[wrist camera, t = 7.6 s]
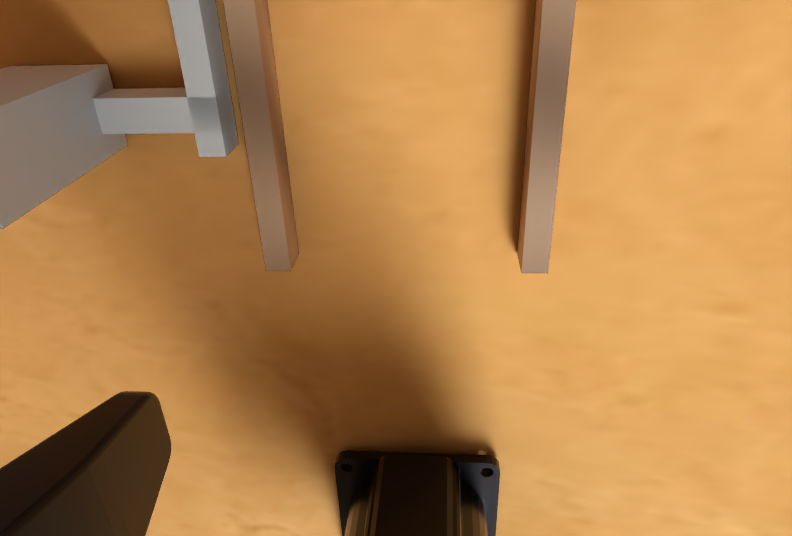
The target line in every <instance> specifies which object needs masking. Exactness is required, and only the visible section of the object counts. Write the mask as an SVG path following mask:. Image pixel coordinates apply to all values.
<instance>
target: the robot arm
mask: <svg viewBox="0 0 792 536" xmlns="http://www.w3.org/2000/svg"><path fill="white" fill-rule="evenodd" d="M170 453H171V441H170V436H169V433H168V429H167V426H166V422H165V419H164V416H163V412H162V409H161V405H160V402H159V400H158V398H157V396H156V395H155V394H154V393H151V392H135V391H125V392H120V393H118V394H116V395H114V396H113V397H111V398H110V399H108V400H107V401H105V402H104V403H102V404H100V405H99V406H97V407H96V408H94V409H93V410H91V411H89V412H88V413H86V414H85V415H83V416H82V417H80V418H79V419H77V420H75V421H74V422H72V423H71V424H69V425H68V426H66V427H64V428H63V429H61V430H60V431H58V432H57V433H55V434H54V435H52V436H50V437H49V438H47V439H46V440H44V441H43V442H41V443H39V444H38V445H36V446H35V447H33V448H32V449H30V450H29V451H27V452H25V453H24V454H22V455H21V456H19V457H18V458H16V459H14V460H13V461H11V462H10V463H8V464H7V465H5V466H4V467H2V468H0V536H145V535H146V532H147V529H148V525H149V522H150V519H151V516H152V513H153V510H154V507H155V503H156V500H157V497H158V494H159V491H160V488H161V484H162V481H163V478H164V475H165V472H166V469H167V465H168V462H169V459H170ZM345 463H350V464H345ZM483 468H490V469H483ZM335 474H336V483H337V491H338V500H339V509H340V517H341V526H342V535H343V536H495V534H496V520H497V506H498V492H499V478H500V469H499V462H498V460H497V459H496V458H494V457H492V456H487V455H459V454H429V453H398V452H368V451H343V452H341V453H339V454H338V455H337V458H336V463H335Z"/></svg>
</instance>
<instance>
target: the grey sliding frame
mask: <svg viewBox="0 0 792 536" xmlns="http://www.w3.org/2000/svg"><path fill="white" fill-rule="evenodd" d="M168 4H169V9H170V14H171V19H172V24H173V29H174V34H175V39H176V44H177V49H178V54H179V59H180V64H181V69H182V74H183V79H184V84H185V88H129V89H114V88H113V84H112V80H111V77H110V73H109V69H108V65H107V64H88V65H39V66H8V67H5V68H2V69H0V229H4V228H5V227H7V226H8V225H10V224H11V223H13V222H14V221H16V220H17V219H18V218H20V217H21V216H23V215H24V214H26V213H27V212H29V211H30V210H32V209H33V208H35V207H36V206H38V205H39V204H41V203H42V202H44V201H45V200H47V199H48V198H50V197H51V196H53V195H54V194H56V193H57V192H59V191H60V190H62V189H63V188H65V187H66V186H68V185H69V184H71V183H72V182H74V181H75V180H77V179H78V178H79V177H81V176H82V175H84V174H85V173H87V172H88V171H90V170H91V169H93V168H94V167H96V166H97V165H99V164H100V163H102V162H103V161H105V160H106V159H108V158H109V157H111V156H112V155H114V154H115V153H117V152H118V151H120V150H121V149H123V148H124V147H126V146H127V145H128V143H127V139H126V135H125V134H157V133H194V134H195V139H196V144H197V149H198V154H199V157H226V156H227V155H228V154H229V153H230V152H231V151H232V150H233V149H234V148H235V147H236V146H237V145H238V144H239V142H238V136H237V130H236V124H235V118H234V112H233V105H232V99H231V93H230V87H229V81H228V75H227V69H226V63H225V57H224V51H223V44H222V38H221V32H220V26H219V20H218V14H217V8H216V2H215V0H168Z"/></svg>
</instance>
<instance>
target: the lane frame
mask: <svg viewBox="0 0 792 536" xmlns="http://www.w3.org/2000/svg"><path fill="white" fill-rule="evenodd" d="M223 3H224V9H225V15H226V22H227V28H228V34H229V41H230V47H231V53H232V60H233V66H234V72H235V79H236V85H237V91H238V98H239V104H240V110H241V117H242V123H243V129H244V136H245V142H246V148H247V155H248V161H249V167H250V174H251V180H252V186H253V193H254V199H255V205H256V212H257V218H258V224H259V231H260V237H261V243H262V250H263V256H264V262H265V269H266V271H291V269H292V267H293V265H294V263H295V261H296V259H297V256H298V254H299V251H298V243H297V235H296V227H295V219H294V211H293V203H292V195H291V187H290V179H289V171H288V163H287V155H286V147H285V139H284V131H283V124H282V116H281V108H280V100H279V92H278V84H277V76H276V68H275V60H274V52H273V44H272V36H271V28H270V20H269V12H268V4H267V0H223ZM575 6H576V0H536V11H535V24H534V38H533V51H532V65H531V79H530V92H529V106H528V119H527V133H526V147H525V160H524V174H523V187H522V201H521V215H520V228H519V242H518V259H519V264H520V269H521V273H548V269H549V259H550V249H551V240H552V230H553V220H554V210H555V201H556V191H557V181H558V172H559V162H560V152H561V142H562V133H563V123H564V113H565V104H566V94H567V84H568V74H569V65H570V55H571V45H572V36H573V26H574V16H575Z"/></svg>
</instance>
